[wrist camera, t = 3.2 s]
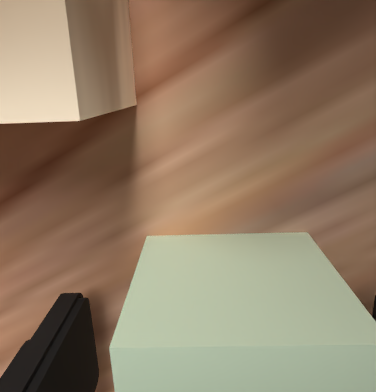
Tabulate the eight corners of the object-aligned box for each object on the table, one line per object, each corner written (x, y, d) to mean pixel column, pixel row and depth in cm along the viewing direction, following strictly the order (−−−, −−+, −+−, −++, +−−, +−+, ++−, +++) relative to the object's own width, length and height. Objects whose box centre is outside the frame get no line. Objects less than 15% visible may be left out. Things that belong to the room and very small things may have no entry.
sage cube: (147, 235, 11) (109, 347, 6) (306, 230, 11) (393, 344, 6) (157, 362, 12) (132, 533, 8) (297, 361, 12) (360, 533, 8)
